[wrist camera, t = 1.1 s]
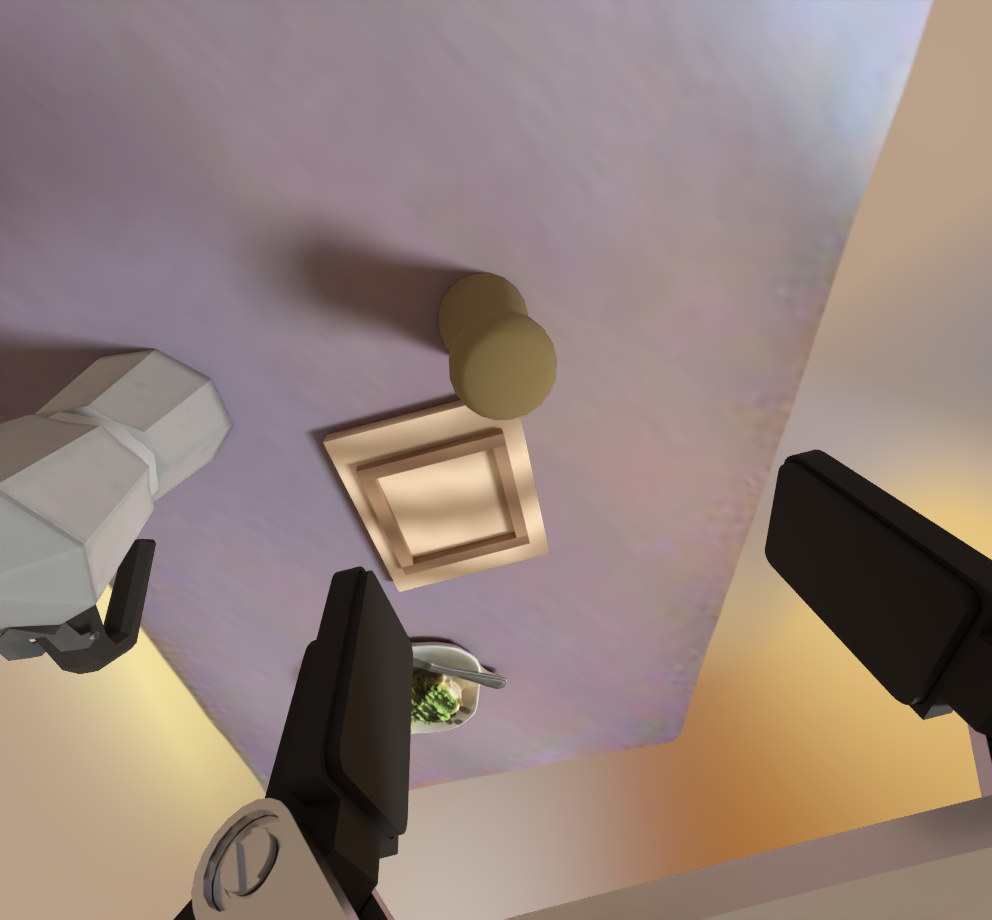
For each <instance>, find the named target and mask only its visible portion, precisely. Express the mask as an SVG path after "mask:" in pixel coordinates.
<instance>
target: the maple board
mask: <svg viewBox="0 0 992 920" xmlns="http://www.w3.org/2000/svg"><path fill="white" fill-rule="evenodd" d="M323 443H324V445H325V447H326V449H327V451H328V453H329V455H330V457H331V459H332V461H333V463H334V465H335V467H336V469H337V471H338V473H339V475H340V477H341V479H342V481H343V483H344V485H345V487H346V489H347V491H348V493H349V495H350V496H351V498H352V500H353V502H354V504H355V506H356V508H357V510H358V512H359V514H360V516H361V518H362V520H363V522H364V524H365V526H366V528H367V530H368V532H369V534H370V536H371V538H372V540H373V542H374V544H375V546H376V548H377V550H378V552H379V553H380V555H381V557H382V559H383V561H384V563H385V565H386V567H387V569H388V571H389V573H390V575H391V577H392V579H393V581H394V583H395V585H396V587H397V589H398V591H399V592H401V591H405V590H409V589H412V588H416V587H420V586H424V585H428V584H432V583H436V582H440V581H443V580H447V579H451V578H455V577H459V576H463V575H467V574H471V573H474V572H478V571H482V570H486V569H490V568H494V567H498V566H502V565H505V564H509V563H513V562H517V561H521V560H525V559H529V558H533V557H536V556H540V555H544V554H548V553H549V549H548V545H547V540H546V535H545V531H544V526H543V521H542V516H541V512H540V507H539V502H538V498H537V493H536V488H535V484H534V479H533V474H532V469H531V465H530V460H529V455H528V451H527V446H526V441H525V436H524V432H523V427H522V422H521V418H520V417H518V418H515V419H512V420H493V419H489V418H485V417H481V416H480V415H478V414H476V413H475V412H473V411H472V410H470V409H468V408H467V406H466V405H465V404H464V403H463V402H462V401H461V400H458V401H454V402H451V403H447V404H443V405H439V406H435V407H431V408H427V409H424V410H420V411H416V412H412V413H408V414H404V415H401V416H397V417H393V418H389V419H385V420H381V421H378V422H374V423H370V424H366V425H362V426H358V427H354V428H351V429H347V430H343V431H339V432H335V433H331V434H328V435H326V437H325V439H324V442H323Z"/></svg>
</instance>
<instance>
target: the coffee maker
mask: <svg viewBox="0 0 992 920" xmlns="http://www.w3.org/2000/svg"><path fill="white" fill-rule="evenodd" d="M232 426H233V422H232V420H231V418H230V416H229V414H228V412H227V410H226V408H225V406H224V403H223V401H222V399H221V397H220V395H219V393H218V391H217V389H216V387H215V385H214V383H213V381H212V379H211V378H209V377H207V376H205V375H203V374H201V373H199V372H198V371H196V370H194V369H192V368H190V367H188V366H186V365H185V364H183V363H181V362H179V361H177V360H175V359H173V358H172V357H170V356H168V355H166V354H164V353H162V352H161V351H159V350H157V349H153V350H146V351H138V352H131V353H124V354H117V355H110V356H103V357H100V358H99V359H97V360H96V361H95V362H94V363H93V364H92V365H90V366H89V367H88V368H87V369H86V370H85V371H84V372H82V373H81V374H80V375H79V376H78V377H77V378H75V379H74V380H73V381H72V382H71V383H70V384H69V385H67V386H66V387H65V388H64V389H63V390H62V391H60V392H59V393H58V394H57V395H56V396H55V397H54V398H52V399H51V400H50V401H49V402H48V403H47V404H45V405H44V406H43V407H42V408H41V409H40V410H39V411H37V412H36V413H35V414H34V415H27V416H23V417H20V418H17V419H13V420H10V421H6V422H3V423H0V634H1V635H0V654H1V655H2V656H3V657H5V658H6V659H7V660H8V661H11V660H18V659H26V658H32V657H38V656H42V655H43V654H44V653H45V652H47V653H48V654H49V655H50V657H51V658H52V659H53V660H54V661H55V662H56V663H57V664H58V665H59V667H60V668H61V669H62V670H65V671H69V672H73V673H77V674H83V673H88V672H94V671H98V670H100V669H101V668H103V667H105V666H106V665H108V664H109V663H111V662H112V661H114V660H115V659H117V658H118V657H120V656H121V655H122V654H124V653H126V652H127V651H129V650H130V649H131V648H132V647H133V646H134V645H135V644H136V642H137V638H138V633H139V627H140V622H141V617H142V612H143V607H144V602H145V597H146V592H147V586H148V581H149V576H150V571H151V566H152V561H153V556H154V551H155V545H156V543H155V541H154V540H151V539H137V540H135V539H136V537H137V536H138V534H139V532H140V531H141V529H142V528H143V526H144V524H145V523H146V521H147V519H148V518H149V516H150V514H151V513H152V511H153V509H154V504H153V502H154V501H155V500H157V499H158V498H160V497H161V496H162V495H164V494H165V493H167V492H168V491H169V490H171V489H172V488H173V487H175V486H176V485H178V484H179V483H180V482H182V481H183V480H185V479H186V478H187V477H189V476H190V475H192V474H193V473H194V472H196V471H197V470H198V469H200V468H201V467H203V466H204V465H205V464H207V463H208V462H210V461H211V460H212V459H214V458H215V456H216V454H217V452H218V451H219V449H220V447H221V445H222V444H223V442H224V440H225V438H226V437H227V435H228V433H229V431H230V430H231V428H232ZM117 569H118V570H117ZM116 570H117V574H116V578H115V582H114V586H113V590H112V594H111V598H110V602H109V606H108V610H107V613H106V617H105V621H104V625H103V624H102V621H101V618H100V615H99V612H98V609H97V607H96V603H97V601H98V600H99V598H100V597H101V595H102V593H103V592H104V590H105V589H106V587H107V585H108V584H109V582H110V580H111V579H112V577H113V575H114V574H115V572H116ZM29 639H35V640H36V641H35V642H30V641H29Z"/></svg>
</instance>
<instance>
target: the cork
mask: <svg viewBox="0 0 992 920" xmlns="http://www.w3.org/2000/svg"><path fill="white" fill-rule="evenodd" d="M438 329H439V332H440V335H441V338H442V340H443V343H444V344H445V346H446V348H447V349H448V351H449V353H450V356H449V370H450V380H451V383H452V385H453V388H454V391H455V393H456V395H457V396H458V397H459V398H460V399H461V401H462V402H463V403H464V404H465V405H466V406H467V408H468V409H470V410H472V411H473V412H475V413H476V414H478V415H480V416H481V417H485V418H489V419H493V420H512V419H515V418H518V417H521V416H524V415H527V414H528V413H530V412H531V411H533V410H534V409H536V408H537V407H538V406H540V404H541V403H542V402H543V401H544V400H545V398H546V397H547V396H548V395H549V393H550V391H551V388H552V386H553V384H554V381H555V378H556V368H557V358H556V354H555V350H554V345H553V343H552V341H551V339H550V338H549V336H548V335H547V333H546V332H545V330H544V329H543V328H542V327H541V326H540V325H539V324H538V323H536V322H535V321H534V320H532V319H531V318H530V317H529V316H528V313H527V309H526V305H525V302H524V299H523V297H522V296H521V294H520V293H519V291H518V289H517V288H516V287H515V286H514V285H513V284H511V283H510V282H509V281H508V280H506V279H505V278H503V277H500V276H497V275H494V274H492V273H475V274H472V275H469V276H467V277H464V278H461V279H460V280H459V281H458V282H456V283H455V284H454V285H453V286H451V287H450V288H449V290H448V291H447V293H446V294H445V296H444V297H443V299H442V301H441V304H440V308H439V312H438Z"/></svg>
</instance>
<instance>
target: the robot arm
mask: <svg viewBox="0 0 992 920" xmlns="http://www.w3.org/2000/svg"><path fill="white" fill-rule="evenodd" d="M765 554H766V558H767V560H768V562H769V563H770V564H771V566H772V567H773V568H774V569H775V570H776V571H777V572H778V573H779V574H780V576H781V577H782V578H784V580H785V581H786V582H787V583H788V584H789V585H790V586H791V587H792V588H793V589H794V590H795V592H796V593H798V595H799V596H800V597H801V598H802V599H803V600H804V601H805V602H806V604H807V605H809V607H810V608H811V609H812V610H813V611H814V612H815V613H816V614H817V615H818V616H819V618H821V620H822V621H823V622H824V623H825V624H826V625H827V626H828V627H829V628H830V629H831V630H832V632H834V634H835V635H836V636H837V637H838V638H839V639H840V640H841V641H842V642H843V643H844V644H845V646H847V648H848V649H849V650H850V651H851V652H852V653H853V654H854V655H855V656H856V657H857V658H858V660H859V661H860V662H861V663H862V664H863V665H864V666H865V667H866V668H867V669H868V670H869V671H870V672H871V673H872V675H873V676H874V677H875V678H876V679H877V680H878V681H879V682H880V683H881V684H882V685H883V686H884V687H885V689H886V690H887V691H888V692H889V693H890V694H891V695H892V696H893V697H894V698H895V699H896V700H898V701H899V702H901V703H903V704H905V705H909V706H910V707H911V708H912V709H913V710H914V711H915V712H916V713H917V714H918V715H919V716H920V717H921V718H922V719H923V720H925V719H929V718H933V717H936V716H941V715H945V714H949V713H951V712H952V711H953V710H954V711H955V712H956V713H958V714H959V716H960V717H962V718H963V719H964V720H965V721H966V722H967V723H968V728H969V733H970V738H971V743H972V748H973V754H974V759H975V763H976V769H977V774H978V779H979V785H980V789H981V795H982V798H978V799H974V800H970V801H966V802H962V803H958V804H954V805H950V806H946V807H942V808H938V809H934V810H930V811H926V812H922V813H918V814H914V815H910V816H906V817H902V818H898V819H894V820H890V821H886V822H882V823H878V824H874V825H870V826H866V827H862V828H858V829H854V830H850V831H846V832H842V833H838V834H834V835H830V836H826V837H823V838H818V839H815V840H810V841H806V842H802V843H798V844H794V845H791V846H787V847H783V848H779V849H775V850H771V851H767V852H763V853H760V854H755V855H751V856H747V857H743V858H740V859H736V860H732V861H728V862H724V863H720V864H716V865H712V866H708V867H704V868H700V869H696V870H692V871H689V872H685V873H681V874H677V875H673V876H669V877H665V878H661V879H658V880H654V881H650V882H646V883H642V884H638V885H634V886H631V887H627V888H623V889H619V890H615V891H611V892H608V893H604V894H600V895H596V896H592V897H588V898H584V899H580V900H577V901H573V902H569V903H565V904H562V905H558V906H554V907H550V908H546V909H542V910H538V911H534V912H530V913H527V914H523V915H519V916H515V917H512V918H508V919H505V920H992V560H991V559H989V558H988V557H986V556H985V555H983V554H981V553H980V552H978V551H977V550H975V549H974V548H972V547H971V546H969V545H967V544H966V543H964V542H963V541H961V540H960V539H958V538H957V537H955V536H954V535H952V534H950V533H949V532H947V531H946V530H944V529H943V528H941V527H940V526H938V525H936V524H935V523H933V522H932V521H930V520H929V519H927V518H925V517H924V516H923V515H921V514H919V513H918V512H916V511H915V510H913V509H912V508H910V507H909V506H907V505H906V504H904V503H902V502H901V501H899V500H898V499H896V498H895V497H893V496H892V495H890V494H888V493H887V492H885V491H884V490H882V489H881V488H879V487H878V486H876V485H874V484H873V483H871V482H870V481H868V480H867V479H865V478H863V477H862V476H861V475H859V474H857V473H856V472H854V471H853V470H851V469H850V468H848V467H846V466H845V465H843V464H842V463H840V462H839V461H837V460H836V459H834V458H833V457H831V456H829V455H828V454H826V453H825V452H823V451H821V450H812V451H808V452H804V453H800V454H796V455H792V456H789V457H787V459H786V460H785V462H784V465H781V467H780V468H779V471H778V477H777V483H776V489H775V495H774V500H773V506H772V511H771V517H770V523H769V529H768V535H767V540H766V546H765ZM412 678H413V649H412V645H411V641H410V639H409V637H408V636H407V634H406V632H405V630H404V628H403V626H402V624H401V622H400V621H399V619H398V617H397V615H396V613H395V611H394V609H393V608H392V606H391V604H390V602H389V600H388V598H387V596H386V594H385V593H384V591H383V589H382V587H381V585H380V583H379V581H378V580H377V578H376V576H375V574H374V573H373V571H365V569H364V568H363V567H356V568H352V569H348V570H344V571H340V572H336V573H335V574H334V575H333V578H332V581H331V585H330V589H329V593H328V597H327V601H326V604H325V608H324V612H323V616H322V620H321V624H320V628H319V632H318V636H317V640H314V641H312V642H311V643H310V644H309V645H308V646H307V649H306V651H305V654H304V657H303V661H302V665H301V668H300V672H299V675H298V679H297V683H296V686H295V690H294V694H293V697H292V701H291V705H290V708H289V712H288V716H287V719H286V723H285V727H284V730H283V734H282V738H281V741H280V745H279V749H278V752H277V756H276V759H275V763H274V767H273V770H272V774H271V778H270V781H269V785H268V789H267V792H266V796H265V799H259V800H255V801H253V802H252V803H249V804H248V805H245V806H243V807H242V808H241V809H239V810H238V811H237V812H236V813H235V814H233V815H232V816H231V817H230V818H228V820H227V821H226V822H225V823H224V824H223V825H222V827H221V828H220V829H219V830H218V831H217V832H216V833H215V835H214V836H213V838H212V840H211V841H210V843H209V844H208V846H207V848H206V849H205V851H204V853H203V855H202V857H201V860H200V862H199V865H198V867H197V870H196V872H195V876H194V881H193V887H192V893H191V894H192V899H191V900H190V902H189V903H188V904H187V905H186V906H185V907H184V908H183V909H182V911H181V912H180V913H179V914H178V915H177V916H176V918H175V919H174V920H394V918H393V916H392V915H391V913H390V911H389V910H388V908H387V906H386V905H385V903H384V902H383V900H382V899H381V897H380V895H379V893H378V892H377V890H376V889H375V887H376V885H377V883H378V871H379V859H380V858H384V857H388V856H392V855H395V854H398V835H401V834H404V833H405V831H406V827H407V819H408V817H407V816H408V791H409V763H410V734H411V706H412Z"/></svg>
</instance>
